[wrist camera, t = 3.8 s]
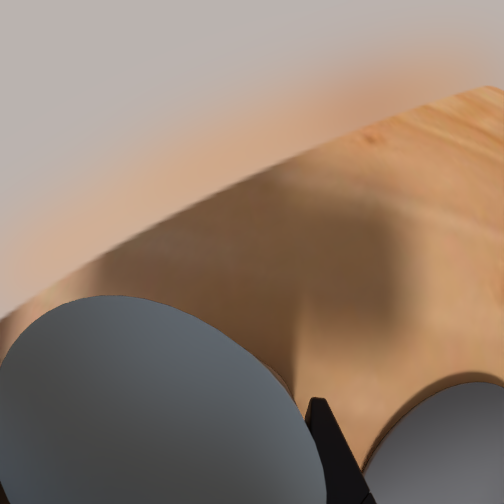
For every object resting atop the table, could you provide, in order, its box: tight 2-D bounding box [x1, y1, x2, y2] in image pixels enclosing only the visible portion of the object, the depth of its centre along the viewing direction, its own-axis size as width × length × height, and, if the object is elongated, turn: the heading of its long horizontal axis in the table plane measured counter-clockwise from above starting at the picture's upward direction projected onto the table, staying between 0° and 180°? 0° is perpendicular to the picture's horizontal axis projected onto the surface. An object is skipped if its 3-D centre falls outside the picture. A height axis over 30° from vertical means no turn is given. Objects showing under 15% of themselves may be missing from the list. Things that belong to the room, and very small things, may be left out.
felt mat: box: [362, 382, 504, 504], centre depth 10 cm, size 12×12×1 cm
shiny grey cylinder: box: [0, 296, 327, 504], centre depth 8 cm, size 6×6×12 cm
